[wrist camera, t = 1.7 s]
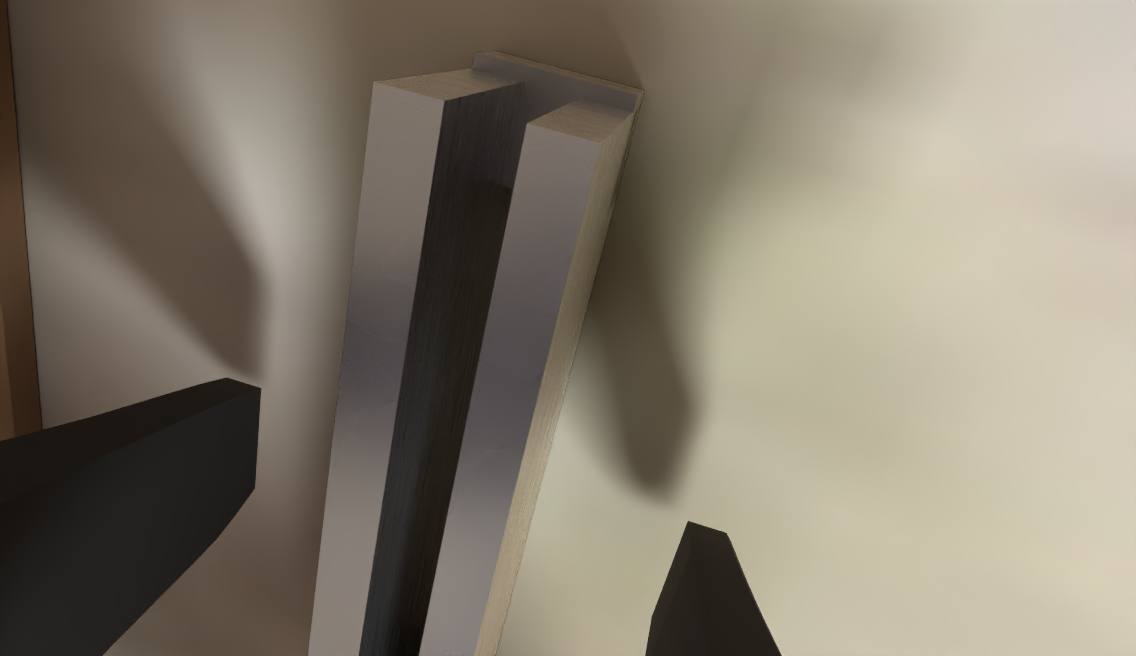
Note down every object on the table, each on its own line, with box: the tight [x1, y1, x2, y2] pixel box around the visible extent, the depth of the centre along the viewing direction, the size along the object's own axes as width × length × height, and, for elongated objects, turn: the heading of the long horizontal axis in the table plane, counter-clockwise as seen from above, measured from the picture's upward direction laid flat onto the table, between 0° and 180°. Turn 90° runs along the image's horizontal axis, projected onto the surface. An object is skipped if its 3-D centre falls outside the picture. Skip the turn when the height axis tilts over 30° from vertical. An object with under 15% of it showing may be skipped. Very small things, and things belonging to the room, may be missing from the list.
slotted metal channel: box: [308, 51, 645, 656], centre depth 11 cm, size 13×2×4 cm, turn 167°
